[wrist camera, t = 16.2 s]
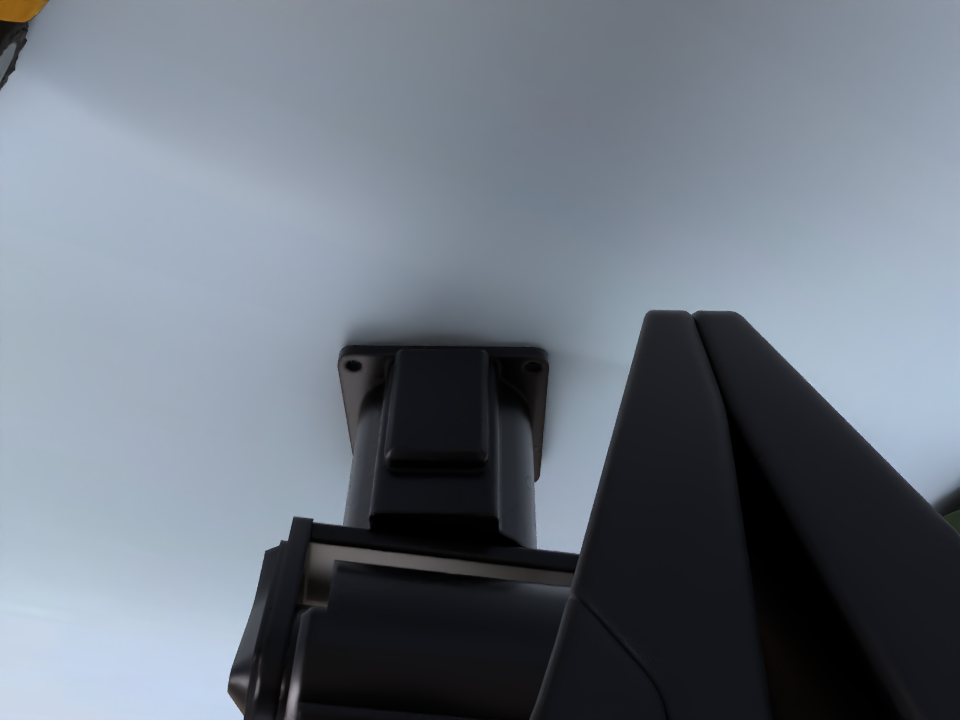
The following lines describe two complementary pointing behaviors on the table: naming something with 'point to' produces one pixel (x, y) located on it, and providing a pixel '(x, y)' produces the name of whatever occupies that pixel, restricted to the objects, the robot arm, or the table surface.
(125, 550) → the table surface
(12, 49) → the toy roller
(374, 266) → the table surface
